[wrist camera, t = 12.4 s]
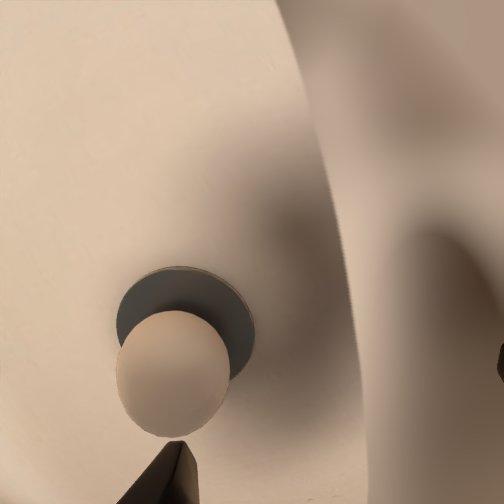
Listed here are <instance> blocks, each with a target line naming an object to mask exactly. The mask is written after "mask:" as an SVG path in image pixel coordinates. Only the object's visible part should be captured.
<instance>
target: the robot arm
mask: <svg viewBox="0 0 504 504" xmlns="http://www.w3.org/2000/svg"><path fill="white" fill-rule="evenodd" d="M497 371H498V374H499V375H500V377H501V379H502V380H503V382H504V344H502V346H501V349H500V354H499V359H498V363H497ZM116 504H200V502H199V488H198V471H197V463H196V460H195V458H194V456H193V454H192V452H191V451H190V449H189V447H188V445H187V444H186V442H185V441H171V442H168V443H167V444H166V445H165V446H164V448H163V449H162V450H161V451H160V453H159V454H158V455H157V456H156V457H155V459H154V460H153V461H152V462H151V464H150V465H149V466H148V467H147V468H146V470H145V471H144V472H143V473H142V474H141V475H140V477H139V478H138V479H137V480H136V481H135V483H134V484H133V485H132V486H131V487H130V488H129V490H128V491H127V492H126V493H125V494H124V495H123V497H122V498H121V499H120V500H119V501H118V502H117V503H116Z"/></svg>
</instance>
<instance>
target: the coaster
mask: <svg viewBox="0 0 504 504" xmlns="http://www.w3.org/2000/svg"><path fill="white" fill-rule="evenodd" d="M165 311H183V312H187V313H191V314H194V315H196V316H198V317H199V318H201V319H203V320H205V321H206V322H208V323H209V324H210V325H211V326H212V327H213V328H214V329H215V330H216V331H217V333H218V334H219V336H220V337H221V339H222V340H223V342H224V344H225V347H226V349H227V353H228V357H229V362H230V376H229V381H230V380H231V379H233V378H234V377H235V376H236V375H237V374H238V373H239V372H240V371H241V370H242V369H243V368H244V366H245V365H246V363H247V362H248V360H249V358H250V355H251V353H252V349H253V345H254V326H253V321H252V317H251V314H250V311H249V309H248V307H247V305H246V303H245V301H244V300H243V298H242V297H241V296H240V294H239V293H238V292H237V291H236V290H235V289H234V288H233V287H232V286H231V285H230V284H228V283H227V282H226V281H224V280H223V279H221V278H219V277H218V276H216V275H214V274H212V273H209V272H207V271H204V270H201V269H197V268H192V267H180V266H177V267H167V268H163V269H159V270H156V271H153V272H151V273H149V274H147V275H145V276H143V277H142V278H141V279H139V280H138V281H137V282H136V283H135V284H134V285H133V286H132V287H131V288H130V289H129V290H128V292H127V293H126V294H125V296H124V297H123V299H122V301H121V303H120V306H119V309H118V313H117V319H116V328H117V336H118V339H119V343H120V345H121V348H122V346H123V344H124V341H125V339H126V338H127V336H128V335H129V334H130V332H131V331H132V330H133V328H134V327H135V326H136V325H138V324H139V323H140V322H142V321H143V320H144V319H146V318H148V317H150V316H151V315H153V314H157V313H161V312H165Z"/></svg>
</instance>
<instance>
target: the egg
mask: <svg viewBox="0 0 504 504" xmlns="http://www.w3.org/2000/svg"><path fill="white" fill-rule="evenodd" d="M229 376H230V362H229V357H228V353H227V349H226V347H225V344H224V342H223V340H222V339H221V337H220V336H219V334H218V333H217V331H216V330H215V329H214V328H213V327H212V326H211V325H210V324H209V323H208V322H206V321H205V320H203V319H201V318H199V317H198V316H196V315H194V314H191V313H187V312H183V311H165V312H161V313H157V314H153V315H151V316H150V317H148V318H146V319H144V320H143V321H142V322H140V323H139V324H138V325H136V326H135V327H134V328H133V330H132V331H131V332H130V334H129V335H128V336H127V338H126V339H125V341H124V344H123V346H122V348H121V350H120V352H119V356H118V361H117V366H116V379H117V387H118V393H119V396H120V399H121V401H122V404H123V406H124V408H125V410H126V412H127V414H128V415H129V417H130V418H131V419H132V421H134V422H135V423H136V424H137V425H138V426H140V427H141V428H142V429H143V430H144V431H147V432H149V433H151V434H154V435H156V436H159V437H170V438H173V437H180V436H184V435H188V434H190V433H192V432H194V431H196V430H197V429H199V428H201V427H202V426H203V425H204V424H206V423H207V422H208V421H209V420H210V419H211V418H212V416H213V415H214V414H215V413H216V411H217V410H218V408H219V407H220V406H221V404H222V403H223V400H224V397H225V395H226V392H227V389H228V384H229Z"/></svg>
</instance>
